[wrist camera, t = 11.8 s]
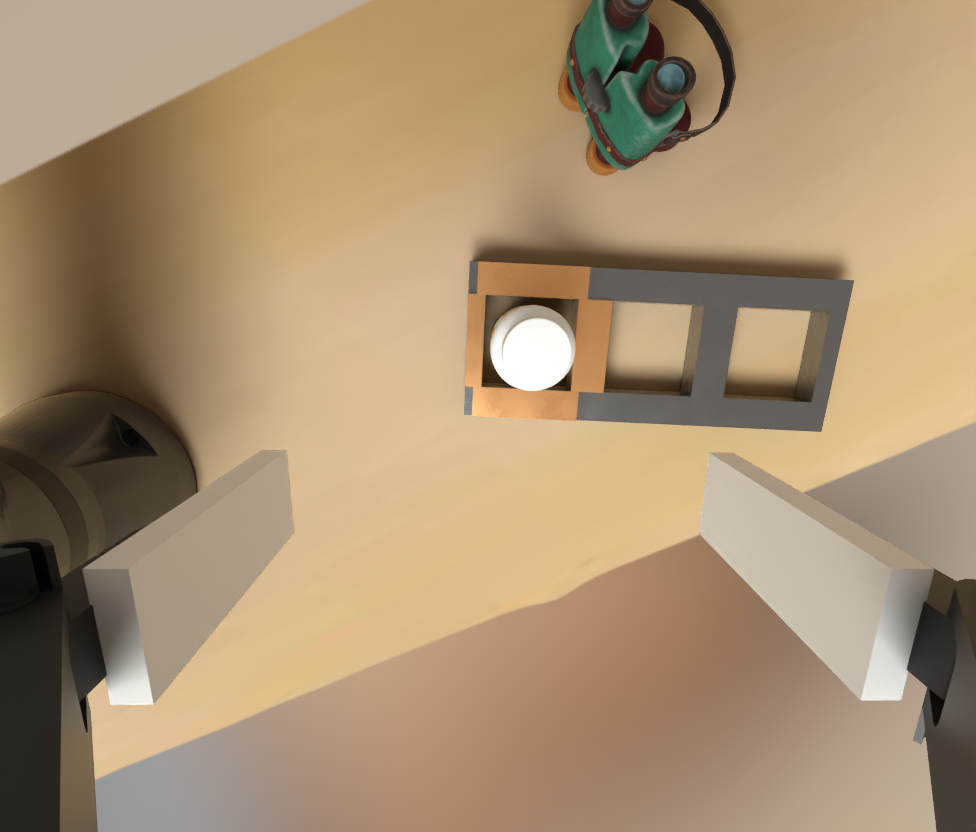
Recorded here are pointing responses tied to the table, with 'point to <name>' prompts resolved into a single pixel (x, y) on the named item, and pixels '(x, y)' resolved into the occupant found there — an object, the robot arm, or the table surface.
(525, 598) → the table surface
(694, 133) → the binoculars
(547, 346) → the supplement bottle
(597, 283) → the hole rail
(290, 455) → the table surface
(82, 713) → the robot arm
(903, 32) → the table surface
